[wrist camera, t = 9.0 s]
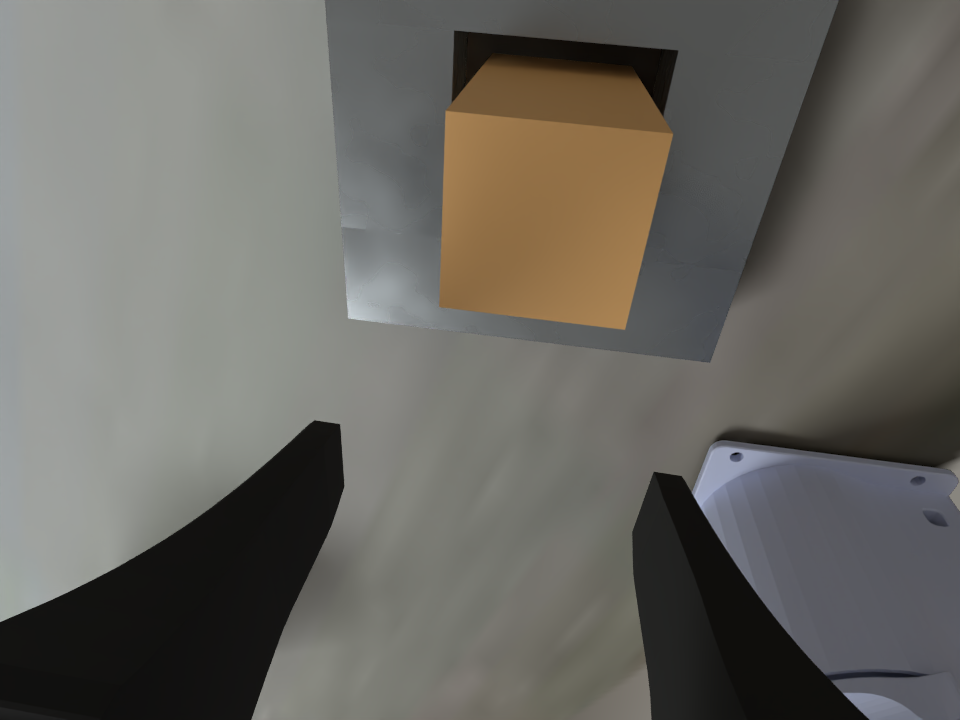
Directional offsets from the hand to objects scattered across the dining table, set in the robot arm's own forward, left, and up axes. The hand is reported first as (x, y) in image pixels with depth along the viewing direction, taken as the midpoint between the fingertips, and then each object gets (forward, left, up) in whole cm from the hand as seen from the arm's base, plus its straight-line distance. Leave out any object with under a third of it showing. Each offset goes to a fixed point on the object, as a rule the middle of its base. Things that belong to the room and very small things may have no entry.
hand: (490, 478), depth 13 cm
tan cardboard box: (0, -6, -9) cm, 11 cm away
